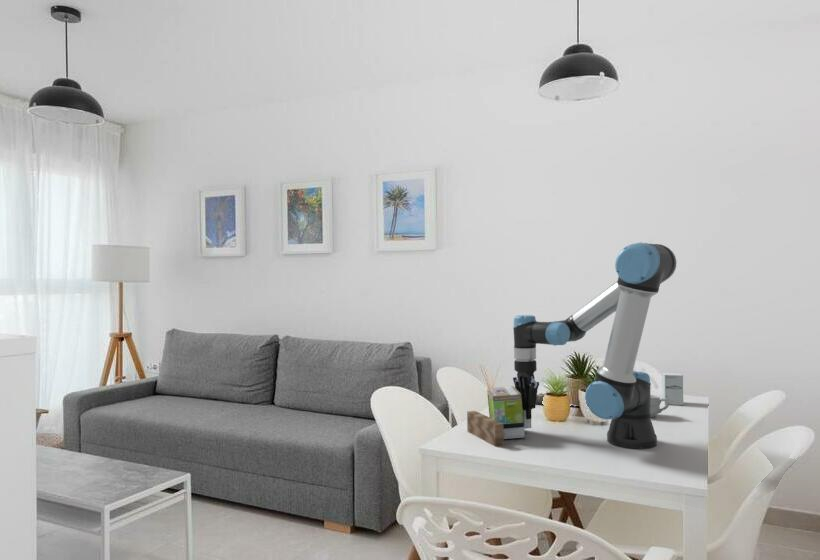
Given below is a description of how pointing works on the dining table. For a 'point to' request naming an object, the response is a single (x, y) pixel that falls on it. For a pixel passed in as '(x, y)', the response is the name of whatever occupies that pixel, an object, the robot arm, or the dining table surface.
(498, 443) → the walnut board
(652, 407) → the teacup
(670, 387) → the supplement box
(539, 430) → the dining table surface
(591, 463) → the dining table surface
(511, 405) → the tea box
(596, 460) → the dining table surface
